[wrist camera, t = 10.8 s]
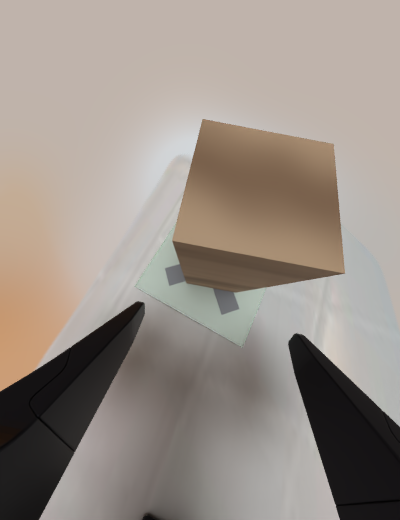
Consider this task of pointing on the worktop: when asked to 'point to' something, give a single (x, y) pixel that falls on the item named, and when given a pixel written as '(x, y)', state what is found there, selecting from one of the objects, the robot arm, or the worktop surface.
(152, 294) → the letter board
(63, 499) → the worktop surface
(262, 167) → the walnut block
